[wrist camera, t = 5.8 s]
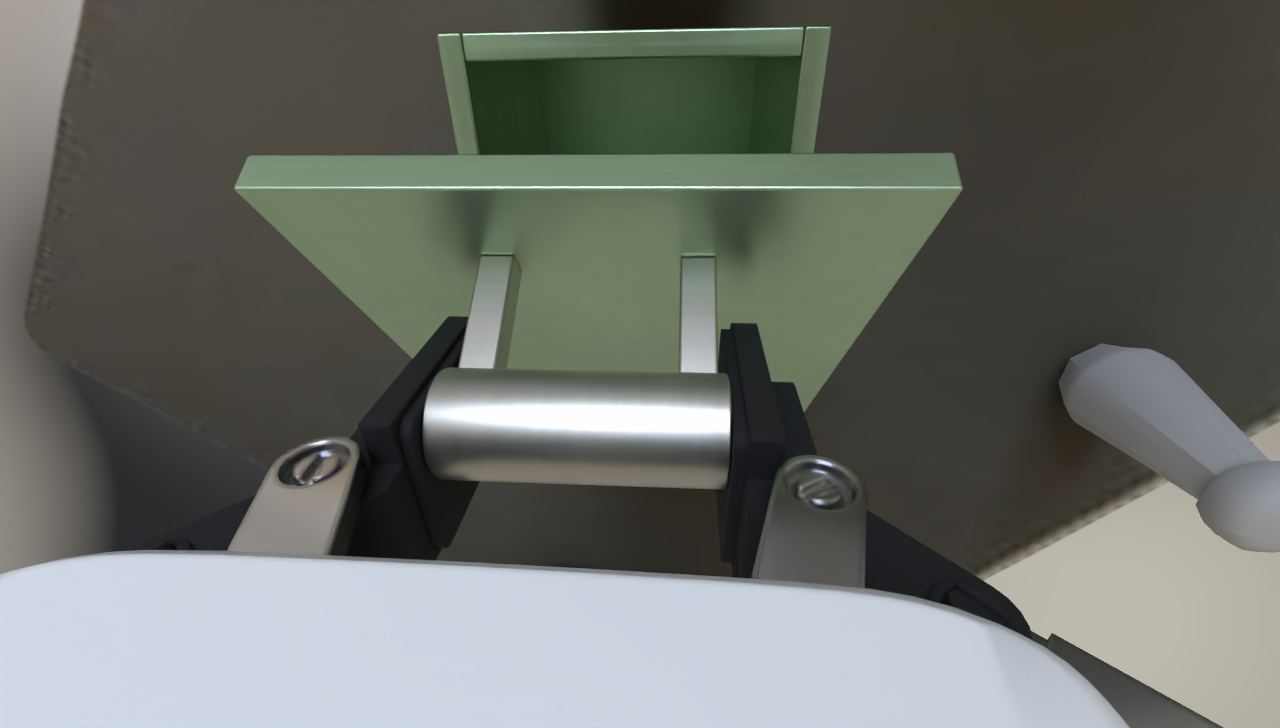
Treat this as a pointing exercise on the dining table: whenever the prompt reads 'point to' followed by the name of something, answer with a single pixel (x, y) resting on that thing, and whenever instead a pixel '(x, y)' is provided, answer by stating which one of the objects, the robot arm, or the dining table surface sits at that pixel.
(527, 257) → the bin lid
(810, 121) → the bin
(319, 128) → the dining table surface
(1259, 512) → the salt shaker
